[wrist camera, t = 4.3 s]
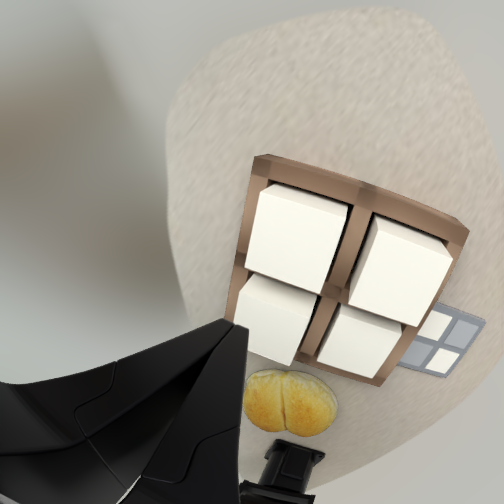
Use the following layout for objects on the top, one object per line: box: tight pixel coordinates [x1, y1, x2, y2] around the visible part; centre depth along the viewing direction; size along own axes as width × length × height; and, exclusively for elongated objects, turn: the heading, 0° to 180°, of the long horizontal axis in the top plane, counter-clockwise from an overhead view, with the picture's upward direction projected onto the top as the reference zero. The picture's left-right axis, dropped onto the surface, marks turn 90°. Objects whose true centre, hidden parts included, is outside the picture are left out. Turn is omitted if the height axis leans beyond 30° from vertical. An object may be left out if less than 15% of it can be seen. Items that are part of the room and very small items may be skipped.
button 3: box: [233, 273, 317, 366], centre depth 18 cm, size 4×4×3 cm
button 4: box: [245, 183, 348, 294], centre depth 15 cm, size 4×4×3 cm
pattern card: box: [397, 302, 486, 378], centre depth 17 cm, size 6×6×1 cm
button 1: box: [317, 302, 402, 378], centre depth 17 cm, size 4×4×3 cm
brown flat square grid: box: [224, 154, 470, 387], centre depth 17 cm, size 13×13×2 cm
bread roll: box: [243, 369, 338, 437], centre depth 23 cm, size 8×9×4 cm
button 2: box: [348, 214, 453, 327], centre depth 14 cm, size 4×4×3 cm
